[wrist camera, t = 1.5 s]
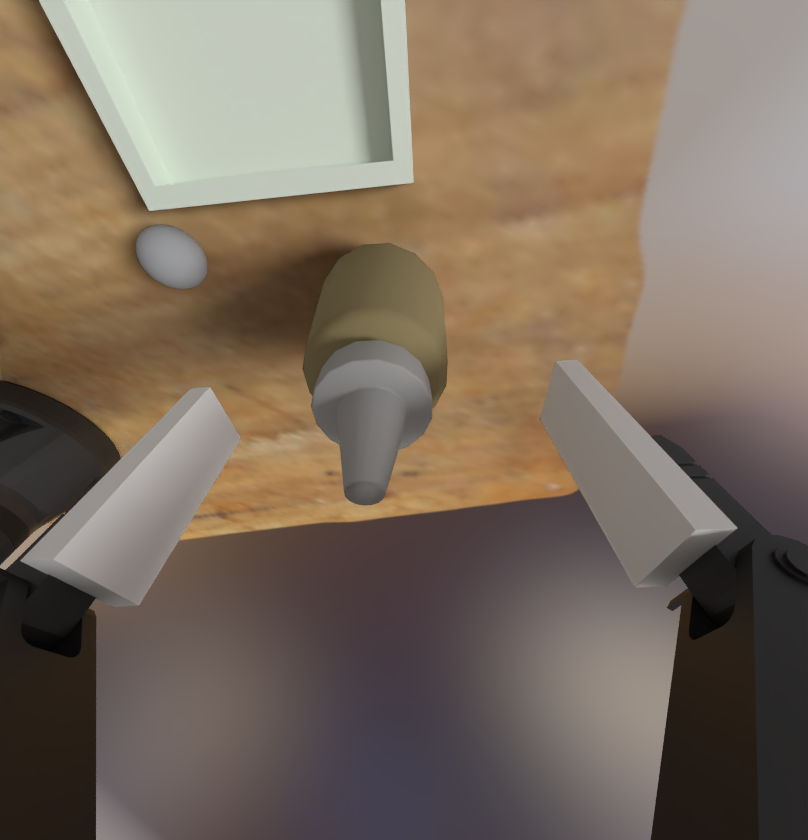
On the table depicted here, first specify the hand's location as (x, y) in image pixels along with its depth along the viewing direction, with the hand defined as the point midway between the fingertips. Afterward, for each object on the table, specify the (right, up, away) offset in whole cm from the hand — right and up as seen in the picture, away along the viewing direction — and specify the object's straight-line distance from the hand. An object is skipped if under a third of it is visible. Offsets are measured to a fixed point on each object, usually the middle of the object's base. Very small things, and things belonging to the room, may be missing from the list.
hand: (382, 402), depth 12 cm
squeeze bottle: (-1, +9, +11) cm, 14 cm away
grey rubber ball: (-14, +11, +8) cm, 20 cm away
